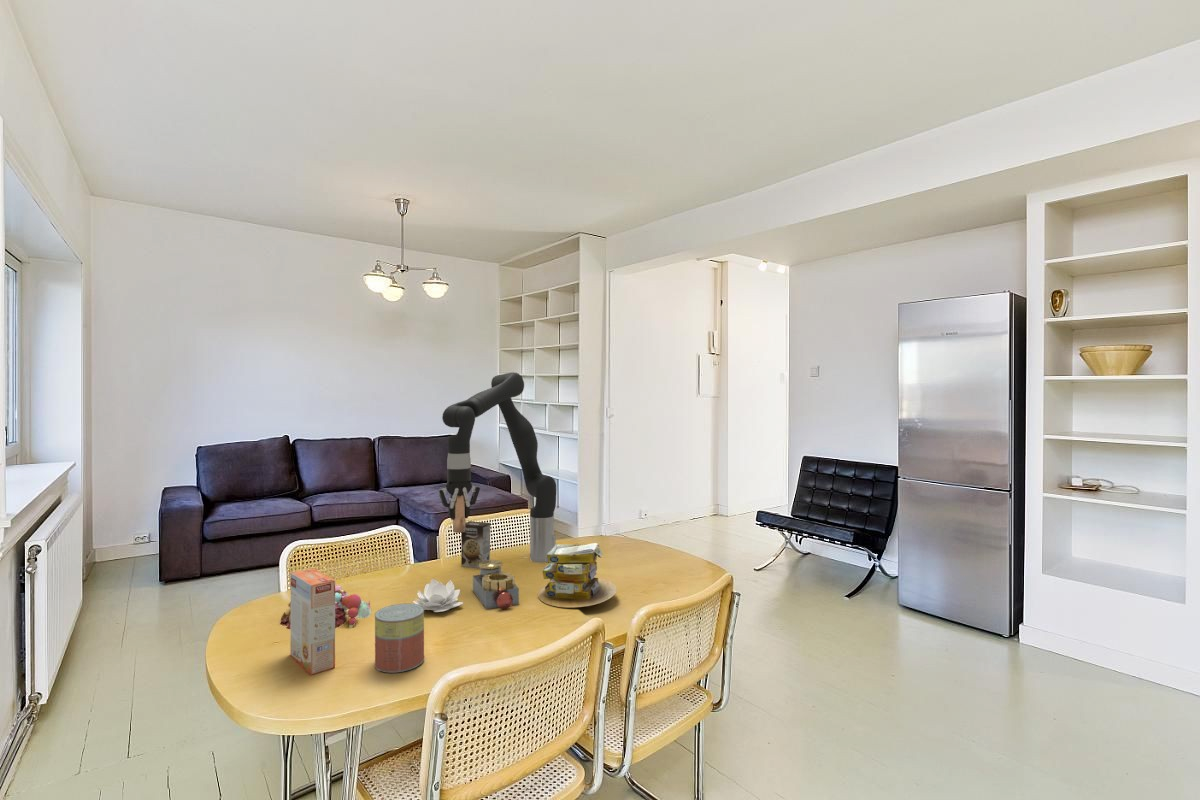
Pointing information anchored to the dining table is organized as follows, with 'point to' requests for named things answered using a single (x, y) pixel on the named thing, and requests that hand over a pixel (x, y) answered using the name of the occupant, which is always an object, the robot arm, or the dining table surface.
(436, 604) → the lotus flower
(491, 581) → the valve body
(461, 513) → the copper pipe
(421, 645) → the canned food
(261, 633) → the dining table surface
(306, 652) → the cracker box
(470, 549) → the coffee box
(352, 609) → the candy landscape model
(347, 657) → the dining table surface
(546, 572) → the stacked food boxes
